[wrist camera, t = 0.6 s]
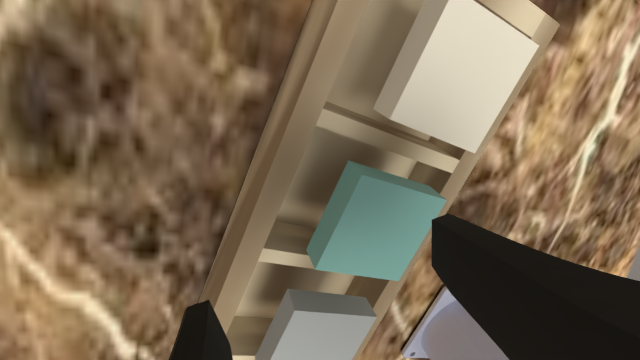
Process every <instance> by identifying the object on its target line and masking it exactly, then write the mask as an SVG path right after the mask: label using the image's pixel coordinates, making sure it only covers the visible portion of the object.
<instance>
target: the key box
mask: <svg viewBox="0 0 640 360" xmlns="http://www.w3.org/2000/svg"><path fill="white" fill-rule="evenodd" d="M474 1H475V2H477V3H478V4H480V5H481V6H483V7H484V8H485V9H487V10H488V11H490V12H491V13H493V14H494V15H496V16H497V17H499V18H500V19H501V20H503V21H504V22H506V23H507V24H509V25H510V26H512V27H513V28H514V29H516V30H517V31H519V32H520V33H522V34H523V35H525V36H526V37H528V38H529V39H530V40H532V41H533V42H535V43H536V44H538V45H539V47H538V49H537V50H536V52H535V54H534V55H533V57H532V59H531V60H530V62H529V64H528V65H527V67H526V69H525V70H524V72H523V74H522V76H521V77H520V79H519V81H518V82H517V84H516V86H515V87H514V89H513V91H512V92H511V94H510V96H509V97H508V99H507V101H506V102H505V104H504V106H503V107H502V109H501V111H500V112H499V114H498V116H497V117H496V119H495V121H494V122H493V124H492V126H491V127H490V129H489V131H488V132H487V134H486V136H485V137H484V139H483V141H482V142H481V144H480V146H479V148H478V149H477V151H476V153H472V152H470V151H467V150H465V149H462V148H460V147H457V146H455V145H452V144H450V143H447V142H445V141H442V140H440V139H437V138H435V137H432V136H430V135H427V134H425V133H422V132H420V131H417V130H415V129H412V128H410V127H408V126H405V125H403V124H400V123H398V122H395V121H393V120H390V119H388V118H387V117H385V116H384V115H382V114H380V113H379V112H377V111H375V110H374V109H373V108H374V106H375V103H376V101H377V99H378V97H379V95H380V93H381V91H382V89H383V87H384V85H385V82H386V80H387V78H388V76H389V74H390V72H391V70H392V68H393V66H394V63H395V61H396V59H397V57H398V55H399V53H400V51H401V49H402V47H403V45H404V42H405V40H406V38H407V36H408V34H409V32H410V30H411V28H412V26H413V24H414V21H415V19H416V17H417V15H418V13H419V11H420V9H421V7H422V5H423V2H424V0H313V1H312V4H311V6H310V9H309V11H308V14H307V17H306V19H305V22H304V25H303V27H302V30H301V33H300V35H299V38H298V41H297V43H296V46H295V48H294V51H293V54H292V56H291V59H290V62H289V64H288V67H287V70H286V72H285V75H284V77H283V80H282V83H281V85H280V88H279V91H278V93H277V96H276V99H275V101H274V104H273V106H272V109H271V112H270V114H269V117H268V120H267V122H266V125H265V128H264V130H263V133H262V135H261V138H260V141H259V143H258V146H257V149H256V151H255V154H254V157H253V159H252V162H251V164H250V167H249V170H248V172H247V175H246V178H245V180H244V183H243V186H242V188H241V191H240V193H239V196H238V199H237V201H236V204H235V207H234V209H233V212H232V215H231V217H230V220H229V222H228V225H227V228H226V230H225V233H224V236H223V238H222V241H221V244H220V246H219V249H218V252H217V254H216V257H215V259H214V262H213V265H212V267H211V270H210V273H209V275H208V278H207V281H206V283H205V286H204V288H203V291H202V294H201V296H200V299H199V302H198V303H201V302H204V301H206V300H209V301H210V303H211V305H212V307H213V309H214V311H215V313H216V315H217V317H218V320H219V322H220V324H221V326H222V328H223V330H224V332H225V334H226V336H227V338H228V341H229V343H230V346H231V352H232V357H233V360H255V356H256V354H257V352H258V350H259V348H260V345H261V343H262V341H263V339H264V337H265V335H266V333H267V331H268V329H269V327H270V324H271V322H272V320H273V318H274V316H275V314H276V312H277V310H278V308H279V305H280V303H281V301H282V299H283V297H284V295H285V293H286V291H287V289H296V290H305V291H314V292H323V293H333V294H342V295H351V296H360V297H366V299H367V300H368V302H369V304H370V305H371V307H372V309H373V311H374V312H375V314H376V316H377V318H376V320H375V322H374V323H373V325H372V327H371V328H370V330H369V332H368V333H367V335H366V337H365V338H364V340H363V342H362V343H361V345H360V347H359V348H358V350H357V352H356V353H355V355H354V357H353V358H352V360H358V358H359V356H360V355H361V353H362V352H363V350H364V348H365V347H366V345H367V343H368V342H369V340H370V338H371V337H372V335H373V333H374V332H375V330H376V328H377V327H378V325H379V323H380V322H381V320H382V318H383V317H384V315H385V313H386V312H387V310H388V308H389V307H390V305H391V304H392V302H393V300H394V299H395V297H396V295H397V294H398V292H399V290H400V289H401V287H402V285H403V284H404V282H405V280H406V279H407V277H408V275H409V274H410V272H411V270H412V269H413V267H414V265H415V264H416V262H417V261H418V259H419V257H420V256H421V254H422V252H423V251H424V249H425V247H426V246H427V244H428V242H429V241H430V239H431V237H432V226H431V228H430V230H429V231H428V233H427V235H426V236H425V238H424V240H423V241H422V243H421V245H420V246H419V248H418V250H417V251H416V253H415V255H414V256H413V258H412V260H411V261H410V263H409V265H408V266H407V268H406V270H405V271H404V273H403V275H402V276H401V278H400V280H399V281H393V280H386V279H378V278H371V277H364V276H357V275H350V274H343V273H336V272H329V271H321V270H315V268H314V266H313V264H312V262H311V260H310V257H309V255H308V253H307V251H306V249H307V247H308V244H309V242H310V240H311V238H312V236H313V234H314V232H315V230H316V228H317V226H318V223H319V221H320V219H321V217H322V215H323V213H324V211H325V209H326V207H327V204H328V202H329V200H330V198H331V196H332V194H333V192H334V190H335V188H336V186H337V183H338V181H339V179H340V177H341V175H342V173H343V171H344V169H345V167H346V164H347V162H348V160H349V161H352V162H355V163H358V164H361V165H365V166H368V167H371V168H374V169H377V170H381V171H384V172H387V173H390V174H393V175H396V176H400V177H403V178H406V179H409V180H412V181H416V182H419V183H422V184H425V185H428V186H430V187H431V188H433V189H434V190H435V191H436V192H438V193H439V194H440V195H441V196H443V197H444V198H445V199H446V200H447V201H446V203H445V204H444V206H443V208H442V209H441V211H440V213H439V214H438V216H437V217H440V216H443V215H445V214H446V213H447V211H448V209H449V208H450V206H451V204H452V203H453V201H454V199H455V198H456V196H457V194H458V193H459V191H460V189H461V188H462V186H463V184H464V183H465V181H466V179H467V178H468V176H469V174H470V173H471V171H472V170H473V168H474V166H475V165H476V163H477V161H478V160H479V158H480V156H481V155H482V153H483V151H484V150H485V148H486V146H487V145H488V143H489V141H490V140H491V138H492V136H493V135H494V133H495V131H496V130H497V128H498V127H499V125H500V123H501V122H502V120H503V118H504V117H505V115H506V113H507V112H508V110H509V108H510V107H511V105H512V103H513V102H514V100H515V98H516V97H517V95H518V93H519V92H520V90H521V88H522V87H523V85H524V83H525V82H526V80H527V79H528V77H529V75H530V74H531V72H532V70H533V69H534V67H535V65H536V64H537V62H538V60H539V59H540V57H541V55H542V54H543V52H544V50H545V49H546V47H547V45H548V44H549V42H550V40H551V39H552V37H553V36H554V34H555V32H556V31H557V29H558V27H559V26H560V24H559V23H558V22H556V21H555V20H554V19H552V18H551V17H550V16H548V15H547V14H546V13H545V12H543V11H542V10H541V9H539V8H538V7H537V6H535V5H534V4H533V3H532V2H530V1H529V0H474Z"/></svg>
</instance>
